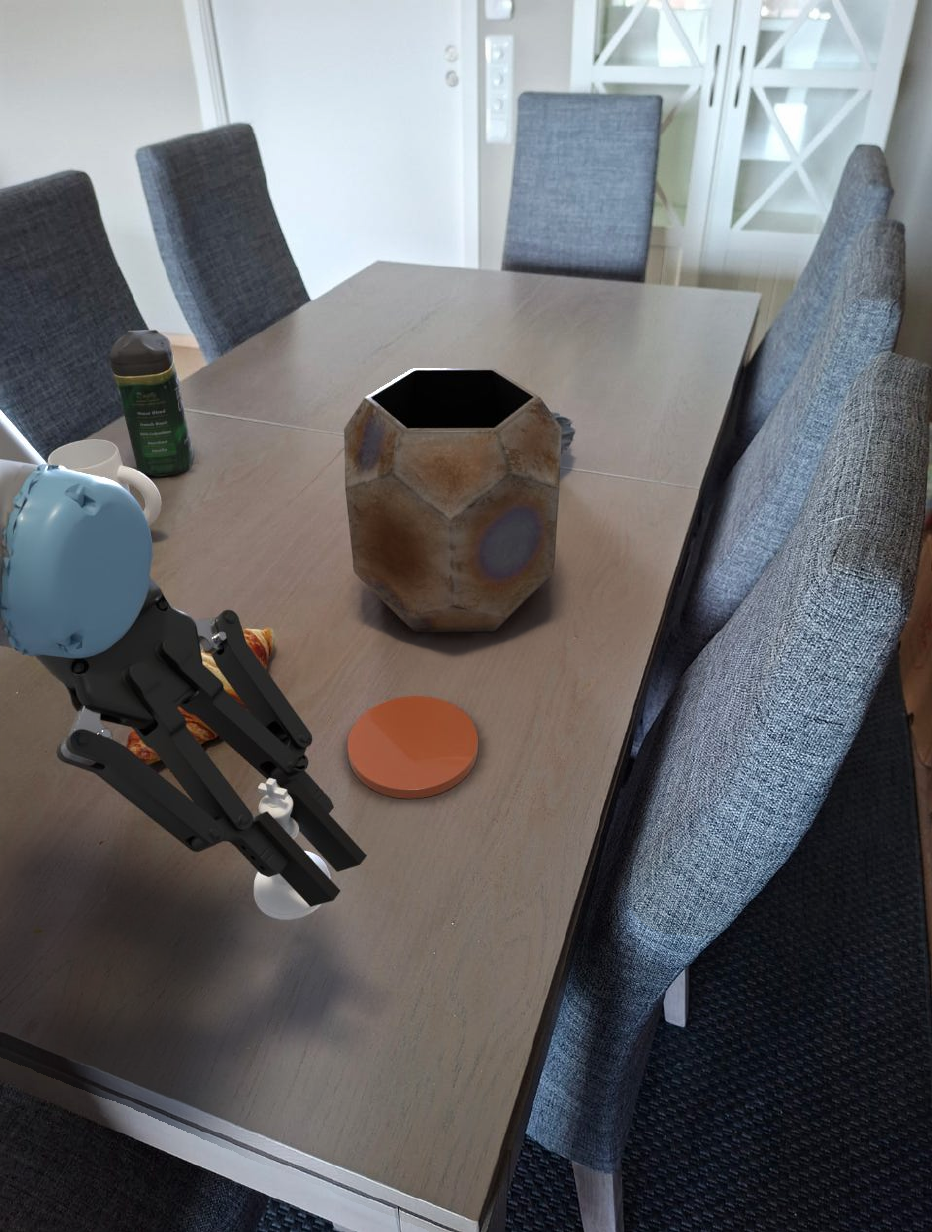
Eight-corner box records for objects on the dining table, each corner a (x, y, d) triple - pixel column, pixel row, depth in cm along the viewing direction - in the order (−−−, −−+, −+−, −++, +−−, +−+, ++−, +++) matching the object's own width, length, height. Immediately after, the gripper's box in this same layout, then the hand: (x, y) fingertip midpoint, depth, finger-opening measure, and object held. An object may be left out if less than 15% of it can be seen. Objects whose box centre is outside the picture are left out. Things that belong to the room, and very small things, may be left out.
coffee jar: (193, 476, 124) (164, 347, 113) (135, 481, 123) (100, 352, 112) (197, 445, 131) (171, 322, 120) (143, 450, 130) (111, 326, 119)
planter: (348, 659, 92) (324, 454, 77) (370, 535, 111) (354, 352, 96) (559, 659, 91) (574, 453, 77) (544, 535, 111) (554, 351, 96)
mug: (160, 559, 107) (137, 471, 100) (64, 558, 107) (34, 470, 100) (180, 523, 114) (159, 439, 106) (89, 522, 114) (63, 438, 107)
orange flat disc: (342, 800, 76) (341, 790, 76) (354, 705, 86) (353, 696, 85) (479, 798, 76) (479, 788, 76) (476, 703, 86) (476, 694, 85)
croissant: (255, 662, 96) (216, 602, 94) (319, 649, 91) (280, 585, 88) (121, 795, 81) (69, 728, 78) (189, 789, 75) (136, 716, 72)
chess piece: (277, 847, 59) (254, 742, 53) (343, 866, 58) (328, 761, 52) (239, 907, 55) (210, 802, 49) (309, 929, 54) (288, 824, 48)
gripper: (139, 548, 57) (372, 807, 61) (-68, 685, 46) (230, 990, 50) (185, 495, 52) (436, 782, 56) (-37, 636, 41) (293, 980, 45)
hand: (338, 880), depth 53 cm, fingers closed on chess piece, 2 cm apart
